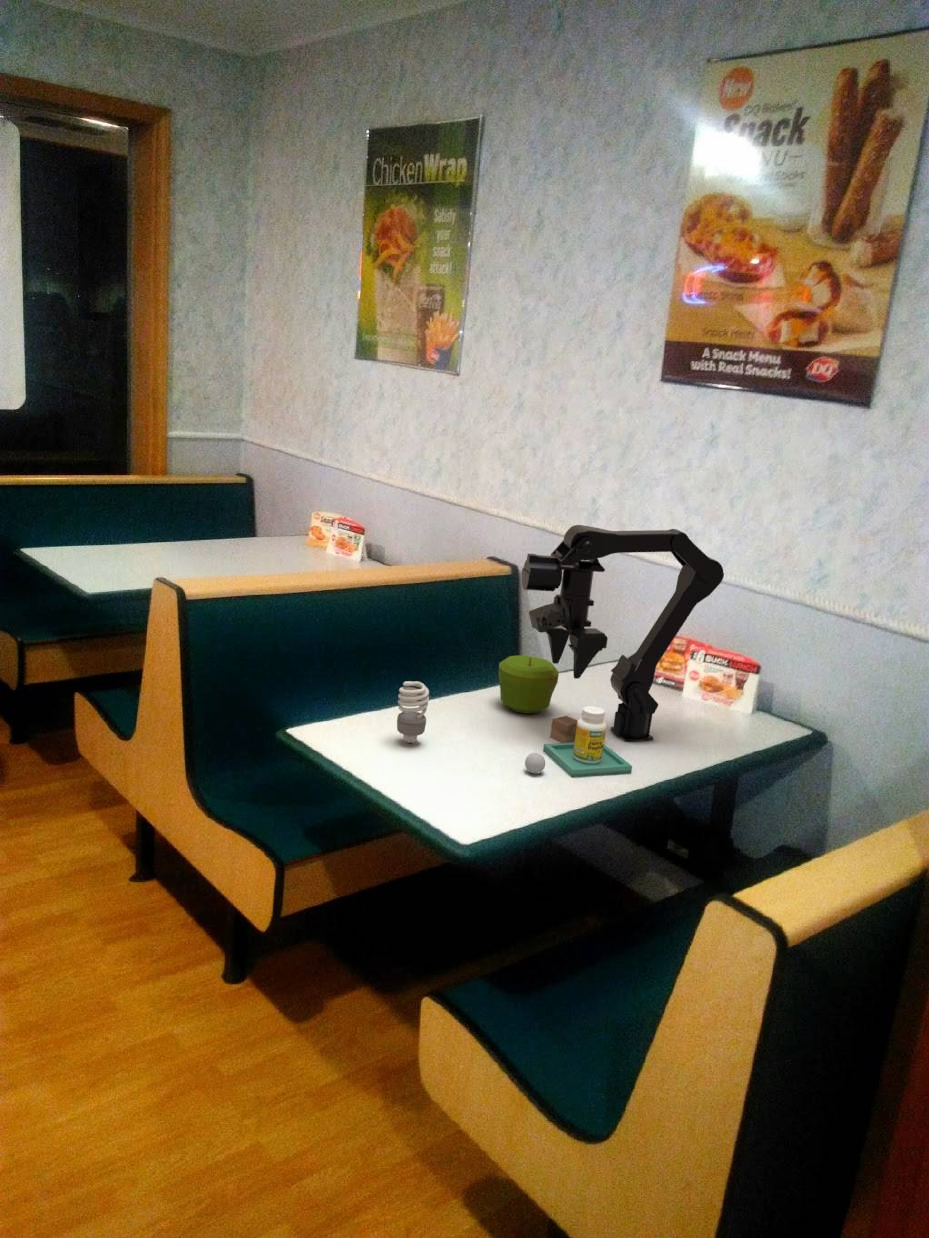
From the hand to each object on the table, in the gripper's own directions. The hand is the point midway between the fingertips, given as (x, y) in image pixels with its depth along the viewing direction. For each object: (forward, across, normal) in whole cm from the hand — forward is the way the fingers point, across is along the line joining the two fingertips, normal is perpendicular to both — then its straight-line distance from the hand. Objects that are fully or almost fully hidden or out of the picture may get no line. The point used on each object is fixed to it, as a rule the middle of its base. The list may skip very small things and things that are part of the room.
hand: (565, 670), depth 188 cm
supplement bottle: (+13, +14, -1) cm, 19 cm away
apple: (+13, -14, -1) cm, 19 cm away
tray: (+13, +14, -1) cm, 19 cm away
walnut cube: (+13, +3, 0) cm, 13 cm away
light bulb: (+13, +1, -31) cm, 34 cm away
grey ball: (+13, +17, -13) cm, 25 cm away
